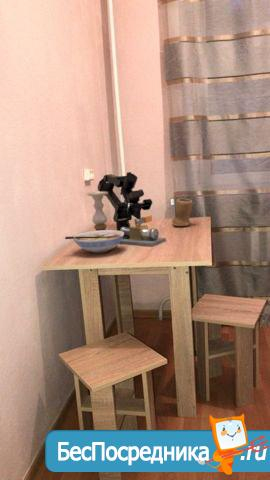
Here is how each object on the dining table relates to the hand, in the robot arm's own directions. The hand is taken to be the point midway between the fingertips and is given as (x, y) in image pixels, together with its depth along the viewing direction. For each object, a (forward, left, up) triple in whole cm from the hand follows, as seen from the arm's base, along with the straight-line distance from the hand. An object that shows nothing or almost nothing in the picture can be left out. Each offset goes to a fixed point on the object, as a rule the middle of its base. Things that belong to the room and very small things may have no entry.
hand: (139, 219), depth 207 cm
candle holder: (-19, -5, -10) cm, 22 cm away
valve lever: (+3, -4, -1) cm, 5 cm away
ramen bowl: (-10, -27, -10) cm, 30 cm away
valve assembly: (+2, -8, -10) cm, 13 cm away
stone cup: (+13, +35, -10) cm, 39 cm away
